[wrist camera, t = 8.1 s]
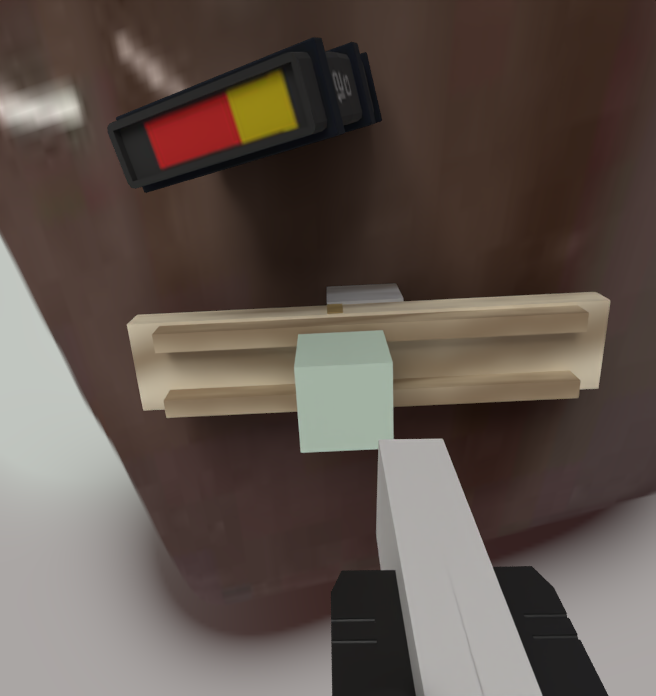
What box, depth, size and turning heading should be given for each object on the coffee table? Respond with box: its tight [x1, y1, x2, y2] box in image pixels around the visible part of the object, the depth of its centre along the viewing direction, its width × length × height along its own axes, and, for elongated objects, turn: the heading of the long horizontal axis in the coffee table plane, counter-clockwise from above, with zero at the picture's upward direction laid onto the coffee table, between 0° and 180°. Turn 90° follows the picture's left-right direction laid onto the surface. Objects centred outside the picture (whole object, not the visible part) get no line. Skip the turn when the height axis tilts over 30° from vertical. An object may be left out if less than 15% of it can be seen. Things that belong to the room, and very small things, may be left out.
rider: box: [294, 330, 393, 453], centre depth 32 cm, size 5×5×7 cm
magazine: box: [107, 38, 382, 193], centre depth 31 cm, size 4×13×15 cm, turn 106°
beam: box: [127, 283, 610, 418], centre depth 38 cm, size 6×30×8 cm, turn 93°
